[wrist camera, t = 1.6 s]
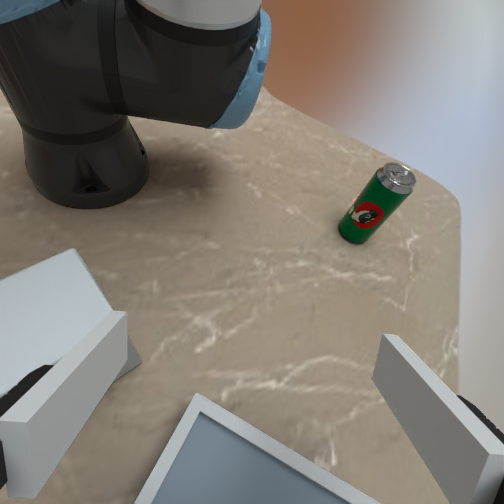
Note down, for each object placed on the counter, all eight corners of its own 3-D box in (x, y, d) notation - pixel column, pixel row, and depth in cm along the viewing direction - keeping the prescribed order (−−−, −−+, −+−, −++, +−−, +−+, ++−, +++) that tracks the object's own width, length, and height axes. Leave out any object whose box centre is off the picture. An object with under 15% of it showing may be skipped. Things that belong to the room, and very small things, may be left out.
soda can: (371, 246, 44) (425, 191, 34) (341, 243, 43) (388, 185, 33) (363, 220, 47) (411, 163, 37) (334, 217, 46) (376, 157, 36)
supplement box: (68, 417, 25) (-13, 404, 15) (35, 350, 27) (-56, 298, 17) (145, 363, 29) (123, 321, 18) (109, 307, 31) (72, 243, 21)
